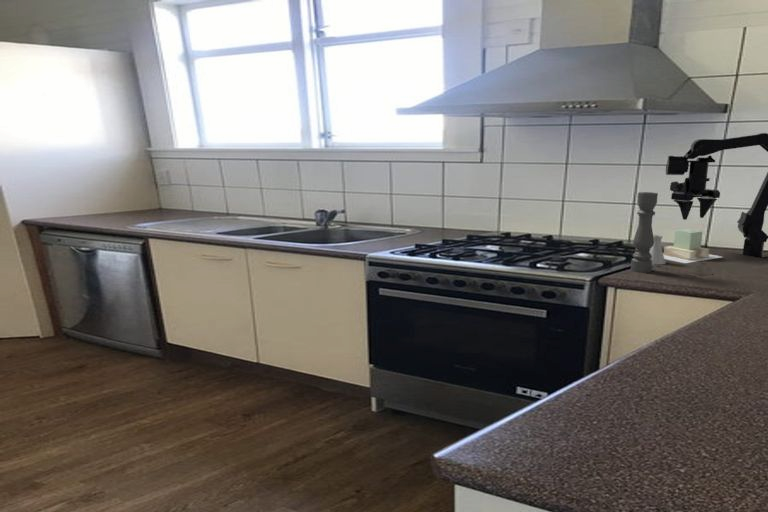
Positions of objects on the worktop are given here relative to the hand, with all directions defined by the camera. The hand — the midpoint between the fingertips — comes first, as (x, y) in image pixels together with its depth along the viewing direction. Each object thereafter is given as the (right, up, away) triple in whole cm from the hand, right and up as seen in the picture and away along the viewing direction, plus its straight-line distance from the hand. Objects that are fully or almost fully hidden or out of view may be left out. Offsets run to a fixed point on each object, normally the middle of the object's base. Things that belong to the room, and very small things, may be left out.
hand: (693, 218), depth 199 cm
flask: (-21, -17, -13) cm, 30 cm away
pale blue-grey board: (-6, -15, -5) cm, 17 cm away
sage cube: (-6, -11, -6) cm, 14 cm away
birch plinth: (-6, -14, -6) cm, 16 cm away
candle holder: (-28, -18, -20) cm, 39 cm away
